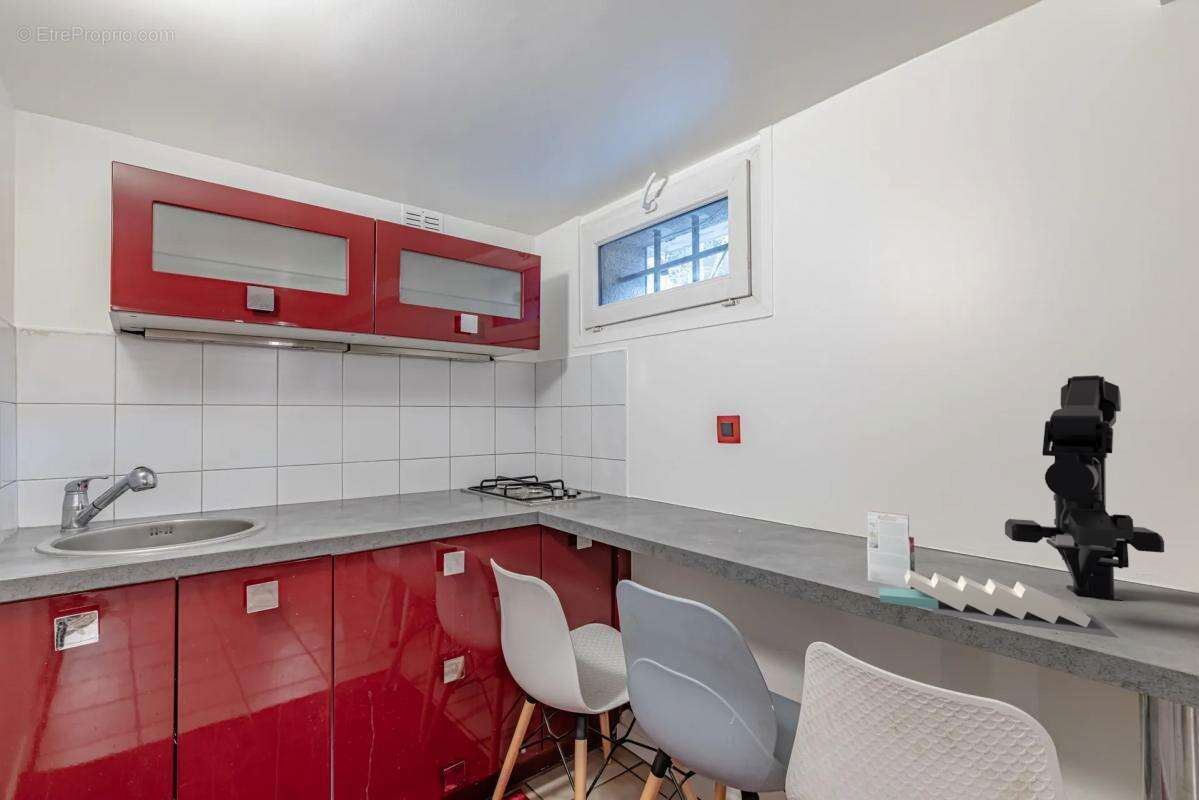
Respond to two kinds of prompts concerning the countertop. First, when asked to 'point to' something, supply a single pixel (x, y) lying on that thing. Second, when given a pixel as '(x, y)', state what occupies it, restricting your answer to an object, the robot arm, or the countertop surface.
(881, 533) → the ink box
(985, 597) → the domino
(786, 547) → the countertop surface
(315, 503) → the countertop surface
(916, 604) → the domino
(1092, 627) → the runner mat
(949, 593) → the domino
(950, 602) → the domino
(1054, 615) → the domino
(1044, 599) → the domino
